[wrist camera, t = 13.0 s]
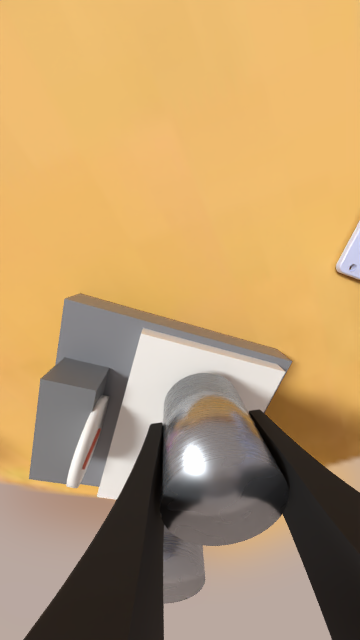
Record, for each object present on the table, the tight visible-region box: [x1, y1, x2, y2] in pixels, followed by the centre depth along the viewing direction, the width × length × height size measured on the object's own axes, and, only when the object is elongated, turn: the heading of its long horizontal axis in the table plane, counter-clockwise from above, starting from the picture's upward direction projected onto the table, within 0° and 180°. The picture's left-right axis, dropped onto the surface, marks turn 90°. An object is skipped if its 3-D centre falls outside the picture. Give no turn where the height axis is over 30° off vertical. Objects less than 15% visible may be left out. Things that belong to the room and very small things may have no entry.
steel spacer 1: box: [163, 525, 205, 603], centre depth 12 cm, size 5×5×5 cm
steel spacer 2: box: [160, 373, 289, 546], centre depth 9 cm, size 5×5×5 cm
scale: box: [29, 294, 292, 500], centre depth 13 cm, size 16×16×6 cm
